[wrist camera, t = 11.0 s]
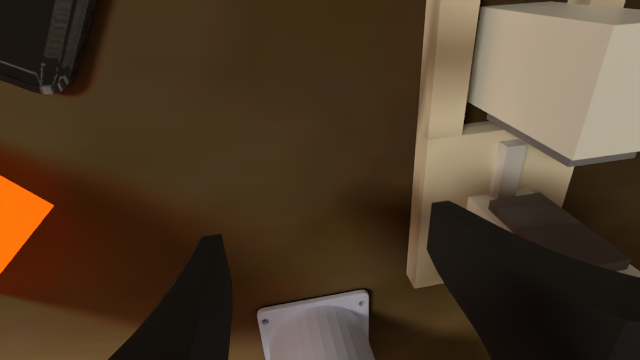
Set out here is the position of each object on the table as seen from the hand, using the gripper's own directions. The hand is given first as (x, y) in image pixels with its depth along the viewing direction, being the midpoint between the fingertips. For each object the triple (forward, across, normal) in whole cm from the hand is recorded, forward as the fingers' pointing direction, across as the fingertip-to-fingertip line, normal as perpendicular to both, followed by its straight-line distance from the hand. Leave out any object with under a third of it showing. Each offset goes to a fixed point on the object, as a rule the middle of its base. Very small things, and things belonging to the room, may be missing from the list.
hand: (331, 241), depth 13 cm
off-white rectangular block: (+9, -12, -4) cm, 16 cm away
